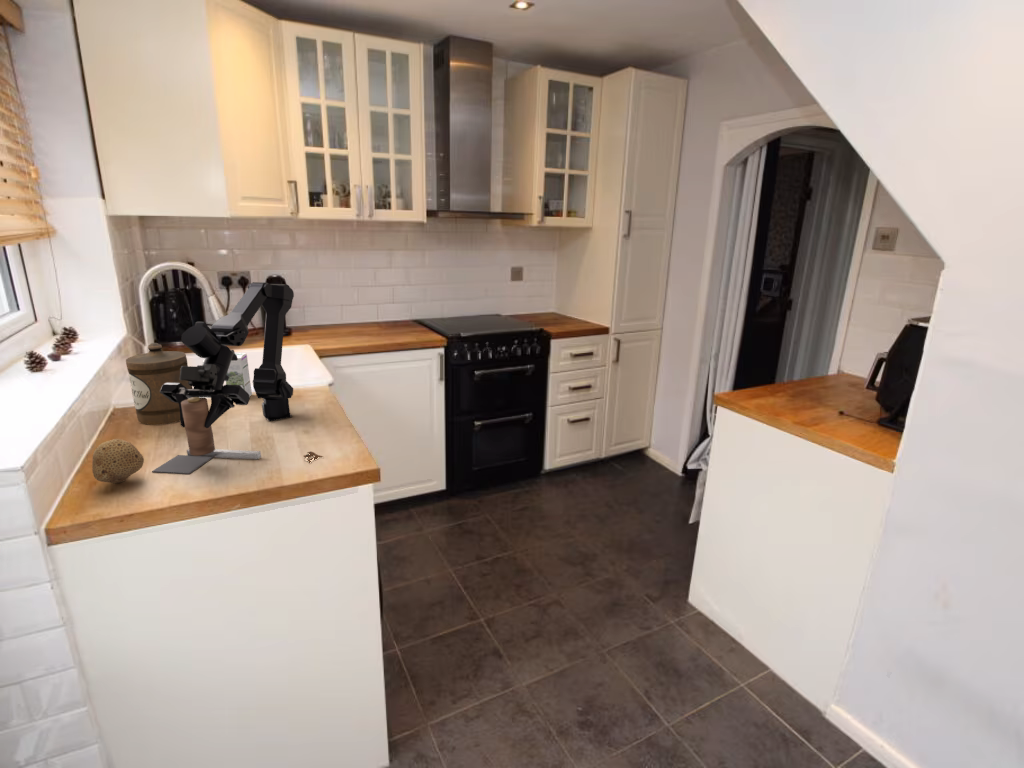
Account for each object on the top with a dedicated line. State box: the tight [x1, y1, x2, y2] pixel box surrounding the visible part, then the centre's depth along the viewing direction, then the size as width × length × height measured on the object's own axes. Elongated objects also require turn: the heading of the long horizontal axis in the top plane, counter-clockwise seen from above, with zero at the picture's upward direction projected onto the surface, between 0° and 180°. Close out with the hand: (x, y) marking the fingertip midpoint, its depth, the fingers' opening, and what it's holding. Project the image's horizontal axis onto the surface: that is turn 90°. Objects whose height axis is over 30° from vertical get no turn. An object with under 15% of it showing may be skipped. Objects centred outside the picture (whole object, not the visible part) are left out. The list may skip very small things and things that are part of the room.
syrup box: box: [225, 352, 253, 398], centre depth 173 cm, size 6×6×14 cm
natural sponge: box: [91, 438, 145, 484], centre depth 118 cm, size 9×9×10 cm
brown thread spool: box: [181, 397, 216, 456], centre depth 124 cm, size 5×5×13 cm
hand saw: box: [303, 451, 324, 464], centre depth 138 cm, size 24×5×1 cm, turn 53°
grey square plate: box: [151, 454, 214, 475], centre depth 128 cm, size 9×9×1 cm
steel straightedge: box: [186, 448, 262, 460], centre depth 132 cm, size 18×2×2 cm, turn 86°
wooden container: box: [125, 342, 194, 426], centre depth 155 cm, size 15×15×22 cm
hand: (194, 427), depth 123 cm, fingers closed on brown thread spool, 5 cm apart
